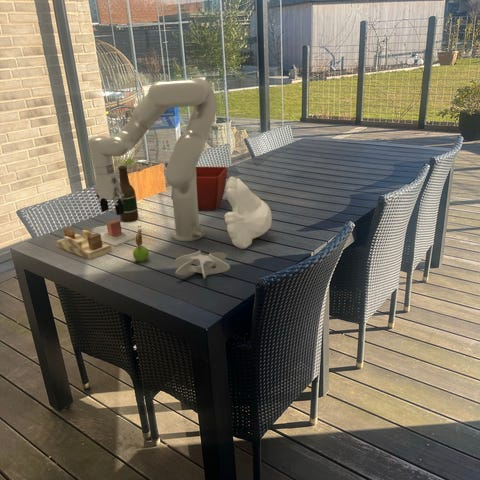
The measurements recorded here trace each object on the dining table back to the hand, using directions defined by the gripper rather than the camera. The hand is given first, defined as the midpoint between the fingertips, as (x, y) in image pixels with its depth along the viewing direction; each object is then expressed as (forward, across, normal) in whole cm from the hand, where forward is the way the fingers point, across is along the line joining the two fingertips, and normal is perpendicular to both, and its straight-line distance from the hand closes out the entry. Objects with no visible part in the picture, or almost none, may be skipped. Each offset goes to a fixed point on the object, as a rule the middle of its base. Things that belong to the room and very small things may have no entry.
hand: (112, 212), depth 187 cm
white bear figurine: (+13, -45, -25) cm, 53 cm away
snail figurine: (+12, -26, +9) cm, 30 cm away
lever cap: (+10, +1, 0) cm, 10 cm away
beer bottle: (+11, +14, -17) cm, 25 cm away
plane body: (+10, +1, +15) cm, 18 cm away
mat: (+11, +1, +1) cm, 11 cm away
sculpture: (+13, -51, +4) cm, 53 cm away
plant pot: (+12, -2, -49) cm, 51 cm away
